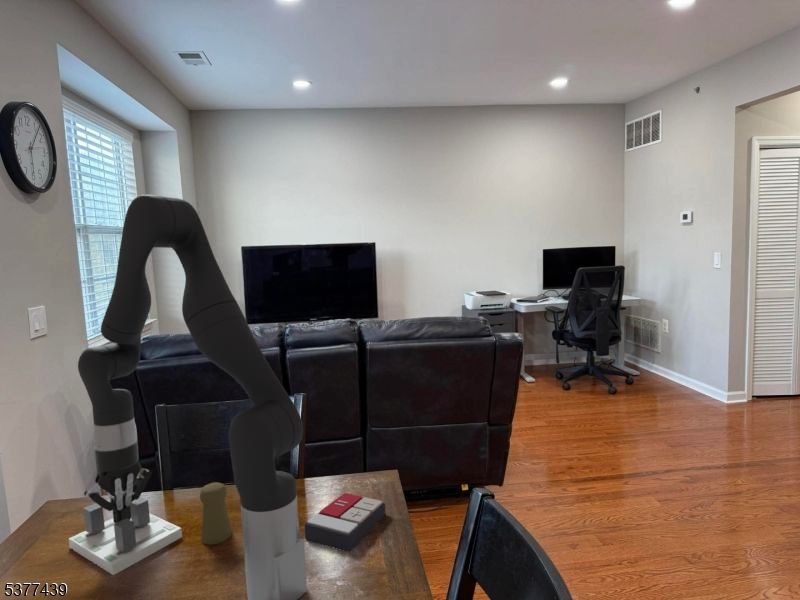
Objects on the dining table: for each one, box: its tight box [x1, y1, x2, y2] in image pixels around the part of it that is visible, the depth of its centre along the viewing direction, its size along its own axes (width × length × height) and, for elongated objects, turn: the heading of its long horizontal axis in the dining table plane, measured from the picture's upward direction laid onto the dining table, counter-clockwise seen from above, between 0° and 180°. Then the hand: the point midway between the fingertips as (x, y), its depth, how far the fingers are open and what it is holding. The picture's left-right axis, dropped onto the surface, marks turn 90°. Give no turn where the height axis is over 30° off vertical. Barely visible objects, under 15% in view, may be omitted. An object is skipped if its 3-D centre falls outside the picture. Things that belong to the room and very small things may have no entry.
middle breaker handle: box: [130, 496, 150, 528], centre depth 105 cm, size 3×2×5 cm
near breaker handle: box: [114, 518, 136, 553], centre depth 96 cm, size 3×2×5 cm
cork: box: [199, 482, 233, 545], centre depth 103 cm, size 6×6×11 cm
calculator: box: [304, 492, 386, 553], centre depth 105 cm, size 11×4×15 cm
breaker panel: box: [68, 512, 183, 576], centre depth 102 cm, size 17×14×2 cm
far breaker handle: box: [82, 502, 105, 535], centre depth 103 cm, size 3×2×5 cm
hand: (123, 524), depth 102 cm, fingers closed
